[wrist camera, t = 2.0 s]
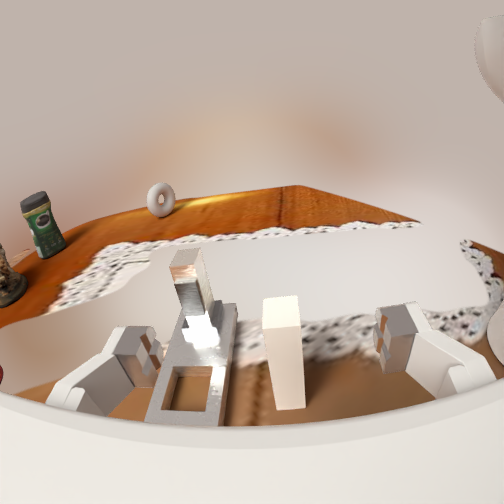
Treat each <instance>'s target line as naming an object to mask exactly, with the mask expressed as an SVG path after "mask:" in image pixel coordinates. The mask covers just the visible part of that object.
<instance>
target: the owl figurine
mask: <svg viewBox="0 0 504 504" xmlns="http://www.w3.org/2000/svg"><path fill="white" fill-rule="evenodd" d="M25 283H26V284H25ZM3 286H5V288H4V289H2V287H3ZM27 286H28V281H27V278H26V277H25V276H24V275H21V274H20V273H18V272H16V273H15V271H13V269H12V268H11V267H10V265H9V263H8V262H7V259H6V256H5V250H4V249H3V248H2V245H1V244H0V308H3V307H5V306H6V307H7V305H9V304H10V303H12V302H13V301H16V300H18V299H20V298H21V297H22V296H23V294H24V293H25V291H26V289H27Z"/></svg>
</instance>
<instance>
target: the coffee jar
mask: <svg viewBox="0 0 504 504" xmlns="http://www.w3.org/2000/svg"><path fill="white" fill-rule="evenodd" d="M20 205H21V210H22V215H23V217H24V218H25V219H26V220H27V222H28V225H29V227H30V230H31V233H32V236H33V240H34V243H35V246H36V249H37V252H38V255H39V257H40V258H42V259H44V258H48V257H51V256H53V255H54V254H56V253H58V252H59V251H61V250H62V249H63V248H65V246H66V242H65V240H64V238H63V236H62V234H61V232H60V230H59V228H58V226H57V224H56V222H55V220H54V217H53V215H52V212H51V202H50V200H49V198H48V196H47V194H46V192H45V191H41V192H38V193H36V194H33V195H31V196H29V197H28V198H26V199H25V200H23V201H21V203H20Z"/></svg>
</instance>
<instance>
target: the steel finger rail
mask: <svg viewBox="0 0 504 504" xmlns="http://www.w3.org/2000/svg"><path fill="white" fill-rule="evenodd" d="M169 268H170V271H171V274H172V277H173V280H174V285H175V288H176V291H177V294H178V297H179V300H180V303H181V306H182V310H181V313H180V315H179V318H178V321H177V324H176V326H175V329H174V332H173V335H172V338H171V341H170V344H169V347H168V349H167V352H166V355H165V358H164V361H163V364H162V367H161V370H160V373H159V376H158V379H157V382H156V385H155V389H154V392H153V395H152V398H151V401H150V404H149V407H148V411H147V414H146V417H145V420H144V422H150V423H161V424H173V425H189V426H218V427H223V425H224V417H225V409H226V402H227V394H228V386H229V378H230V371H231V363H232V355H233V348H234V340H235V332H236V325H237V317H238V312H237V308H236V303H230V304H222V301H221V300H218V301H214V299H213V295H212V292H211V287H210V283H209V280H208V276H207V272H206V268H205V264H204V261H203V257H202V253H201V249H200V248H194V249H185V250H178V251H177V253H176V255H175V257H174V259H173V261H172V262H171V264H170V266H169ZM178 377H211V383H210V388H209V394H208V399H207V405H206V411H205V412H193V411H170V410H169V409H170V405H171V402H172V398H173V394H174V391H175V387H176V383H177V380H178Z"/></svg>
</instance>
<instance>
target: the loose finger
mask: <svg viewBox="0 0 504 504" xmlns="http://www.w3.org/2000/svg"><path fill="white" fill-rule="evenodd" d="M262 331H263V336H264V342H265V347H266V353H267V358H268V364H269V369H270V375H271V380H272V386H273V391H274V397H275V402H276V408H277V410H288V409H300V408H306V404H305V385H304V368H303V352H302V338H301V325H300V316H299V307H298V298H297V295H295V296H285V297H276V298H266V299H263V322H262Z"/></svg>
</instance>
